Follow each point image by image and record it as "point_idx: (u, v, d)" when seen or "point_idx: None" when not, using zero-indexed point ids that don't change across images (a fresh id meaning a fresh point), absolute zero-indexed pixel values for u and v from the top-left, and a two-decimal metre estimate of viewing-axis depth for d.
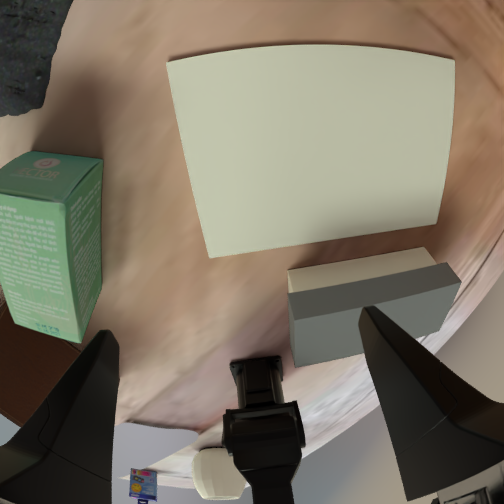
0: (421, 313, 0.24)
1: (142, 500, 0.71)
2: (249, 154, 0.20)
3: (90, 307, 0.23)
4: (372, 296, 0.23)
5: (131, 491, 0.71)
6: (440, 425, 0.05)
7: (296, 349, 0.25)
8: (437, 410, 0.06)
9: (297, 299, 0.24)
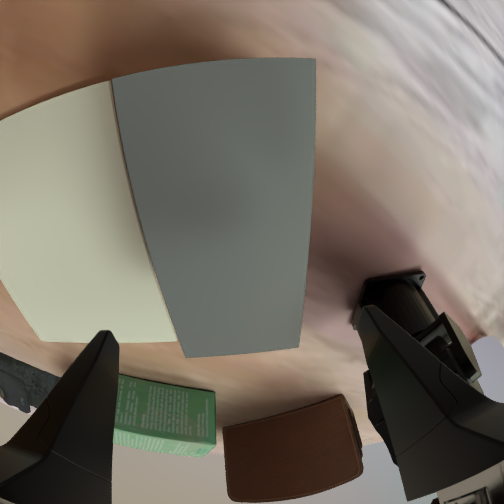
0: (203, 165, 0.11)
1: None
2: (78, 312, 0.23)
3: (203, 420, 0.29)
4: None
5: None
6: (440, 425, 0.05)
7: (249, 352, 0.18)
8: (437, 410, 0.06)
9: None
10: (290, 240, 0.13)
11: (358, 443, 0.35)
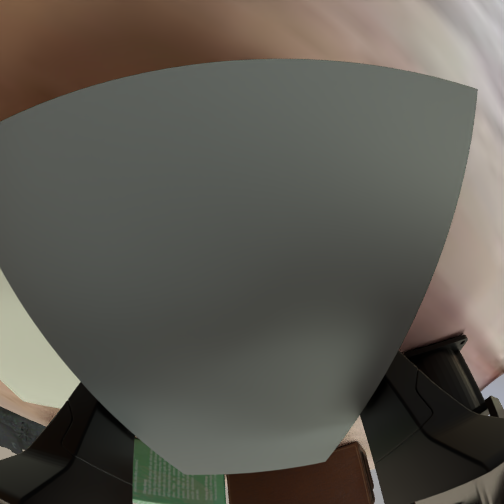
0: (185, 338, 0.05)
1: None
2: (55, 386, 0.17)
3: (211, 483, 0.23)
4: None
5: None
6: (414, 436, 0.05)
7: (264, 470, 0.12)
8: (411, 421, 0.06)
9: None
10: (342, 403, 0.07)
11: (371, 488, 0.29)
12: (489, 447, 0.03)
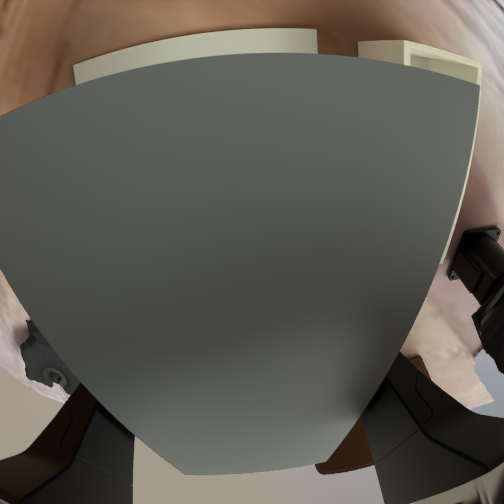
0: (186, 336, 0.05)
1: None
2: None
3: None
4: None
5: None
6: (414, 436, 0.05)
7: (264, 470, 0.12)
8: (411, 421, 0.06)
9: None
10: (343, 403, 0.07)
11: None
12: (489, 447, 0.03)
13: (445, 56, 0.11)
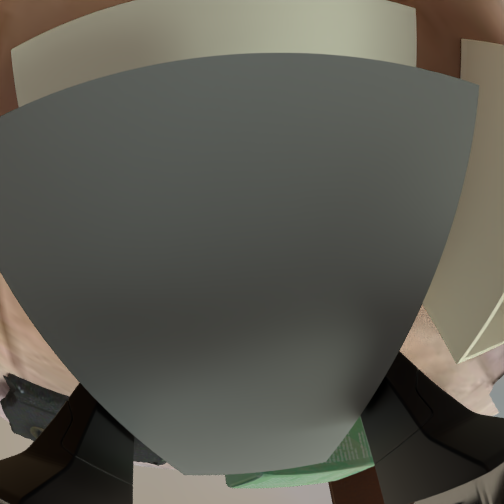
0: (184, 337, 0.05)
1: None
2: None
3: (364, 439, 0.23)
4: None
5: None
6: (414, 436, 0.05)
7: (264, 471, 0.12)
8: (411, 421, 0.06)
9: None
10: (342, 403, 0.07)
11: None
12: (489, 447, 0.03)
13: None
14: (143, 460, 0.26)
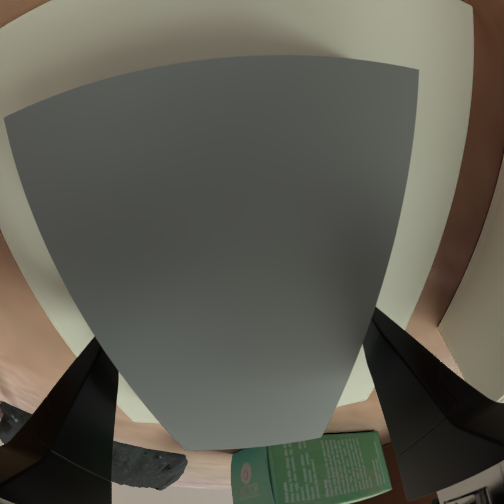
0: (189, 278, 0.06)
1: None
2: None
3: (378, 466, 0.21)
4: None
5: None
6: (440, 425, 0.05)
7: (262, 445, 0.13)
8: (437, 410, 0.06)
9: None
10: (330, 360, 0.08)
11: None
12: None
13: None
14: (144, 486, 0.23)
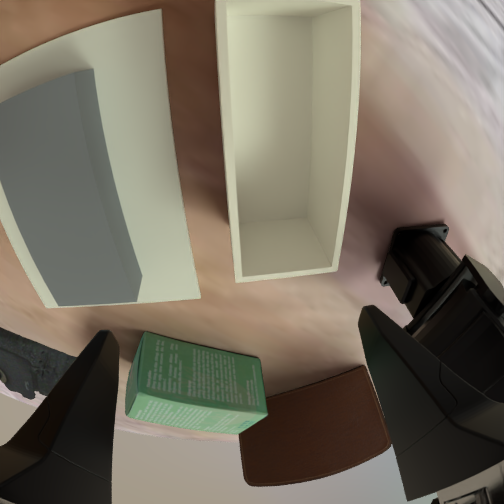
0: (27, 157, 0.13)
1: None
2: None
3: (253, 387, 0.28)
4: None
5: None
6: (440, 425, 0.05)
7: (99, 303, 0.20)
8: (437, 410, 0.06)
9: None
10: (88, 203, 0.16)
11: None
12: None
13: None
14: None
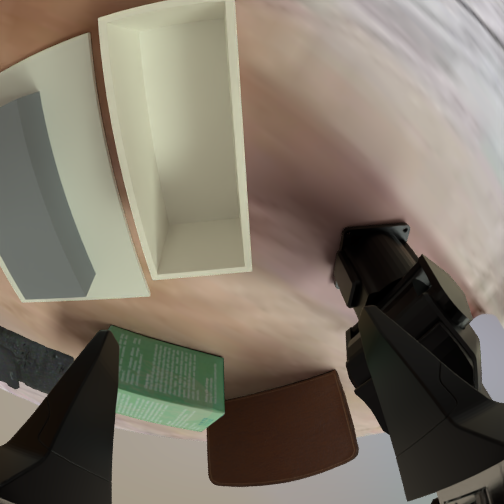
0: None
1: None
2: None
3: (212, 385, 0.29)
4: None
5: None
6: (440, 425, 0.05)
7: (56, 297, 0.21)
8: (437, 410, 0.06)
9: None
10: (36, 208, 0.16)
11: (351, 425, 0.34)
12: None
13: (160, 8, 0.09)
14: None
